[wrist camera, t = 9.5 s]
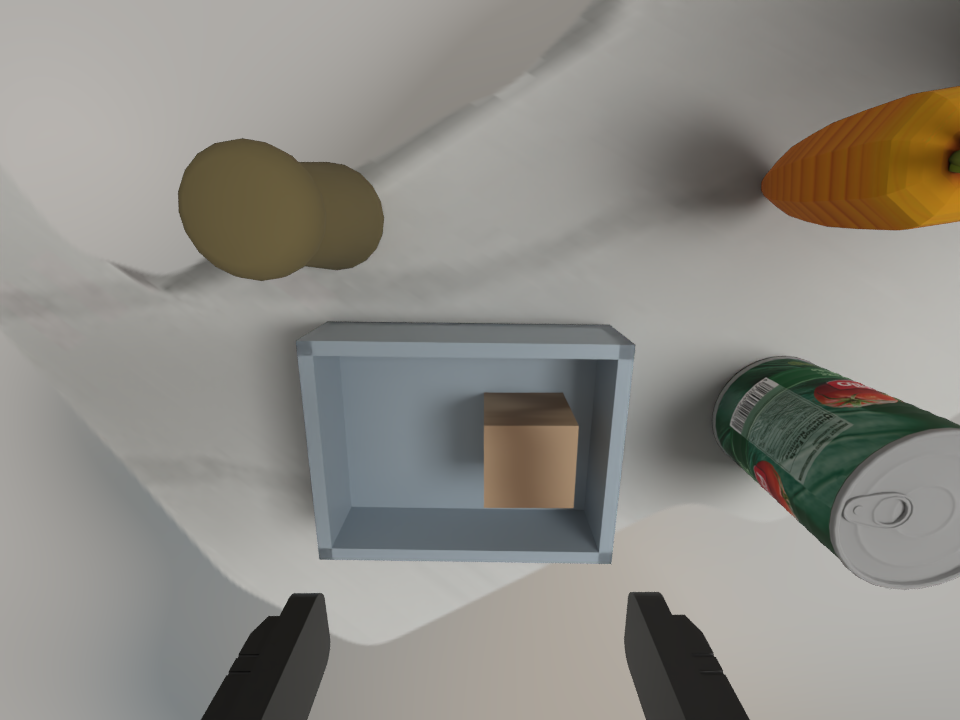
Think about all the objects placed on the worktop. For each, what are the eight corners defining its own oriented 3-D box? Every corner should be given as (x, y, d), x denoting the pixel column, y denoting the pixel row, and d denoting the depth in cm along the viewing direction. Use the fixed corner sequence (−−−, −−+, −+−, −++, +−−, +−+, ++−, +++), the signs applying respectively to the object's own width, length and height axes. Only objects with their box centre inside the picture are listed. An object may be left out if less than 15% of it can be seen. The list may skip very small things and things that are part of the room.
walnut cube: (562, 392, 29) (578, 425, 24) (559, 463, 30) (573, 508, 25) (484, 392, 29) (483, 425, 24) (484, 463, 30) (483, 507, 25)
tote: (609, 324, 28) (635, 344, 23) (592, 513, 32) (611, 563, 27) (327, 321, 28) (295, 340, 23) (344, 509, 32) (319, 559, 27)
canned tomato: (847, 358, 29) (1061, 434, 18) (816, 468, 31) (990, 594, 20) (723, 353, 29) (862, 426, 18) (700, 464, 31) (813, 587, 20)
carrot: (709, 219, 26) (982, 207, 12) (743, 127, 25) (1098, -11, 10) (788, 240, 27) (1149, 253, 12) (826, 150, 25) (1282, 47, 11)
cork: (263, 182, 26) (112, 151, 15) (361, 147, 25) (272, 89, 15) (306, 283, 28) (195, 317, 17) (399, 252, 27) (343, 267, 16)
